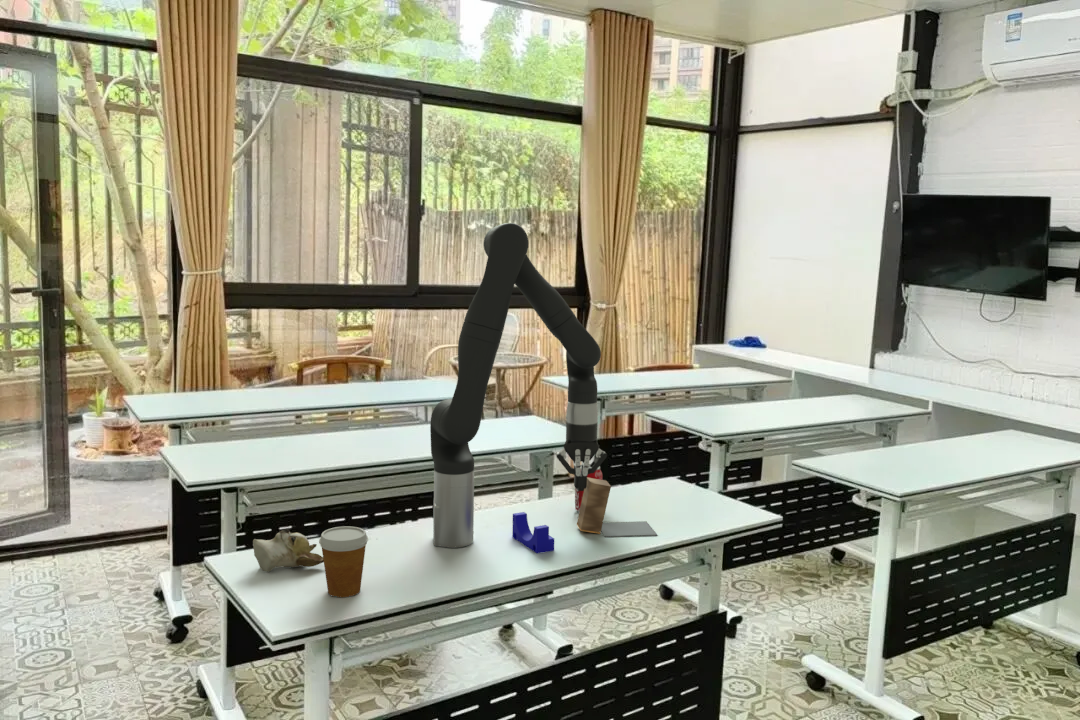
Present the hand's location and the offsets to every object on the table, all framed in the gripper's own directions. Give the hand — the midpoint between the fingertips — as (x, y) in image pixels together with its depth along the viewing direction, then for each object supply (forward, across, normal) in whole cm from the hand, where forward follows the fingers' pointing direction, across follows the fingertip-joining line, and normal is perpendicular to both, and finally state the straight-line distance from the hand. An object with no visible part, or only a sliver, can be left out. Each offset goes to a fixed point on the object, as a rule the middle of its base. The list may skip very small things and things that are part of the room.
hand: (580, 490), depth 213 cm
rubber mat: (+10, +12, 0) cm, 16 cm away
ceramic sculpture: (+10, -66, -17) cm, 69 cm away
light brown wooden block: (+10, +2, 0) cm, 10 cm away
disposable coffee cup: (+10, -54, -32) cm, 64 cm away
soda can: (+10, +5, +15) cm, 19 cm away
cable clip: (+10, -13, -8) cm, 18 cm away
